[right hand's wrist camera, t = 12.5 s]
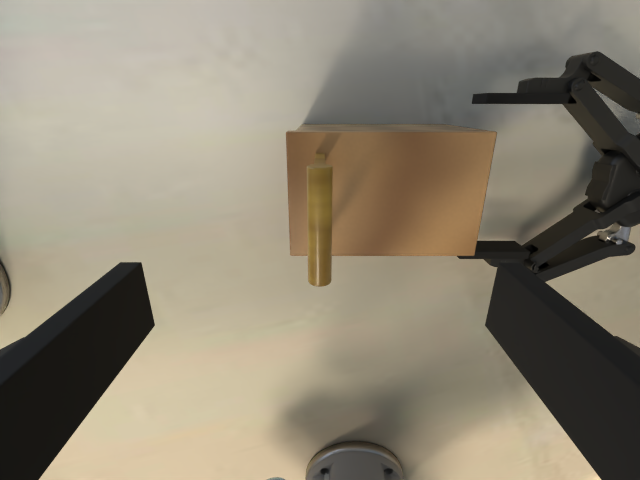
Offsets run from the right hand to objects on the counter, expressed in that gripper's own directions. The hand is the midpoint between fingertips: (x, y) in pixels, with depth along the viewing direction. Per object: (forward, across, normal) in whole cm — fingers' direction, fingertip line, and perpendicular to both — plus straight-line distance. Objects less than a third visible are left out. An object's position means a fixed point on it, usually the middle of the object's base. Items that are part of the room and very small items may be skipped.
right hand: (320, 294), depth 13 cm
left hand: (+19, -13, 0) cm, 23 cm away
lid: (+15, -5, 0) cm, 16 cm away
